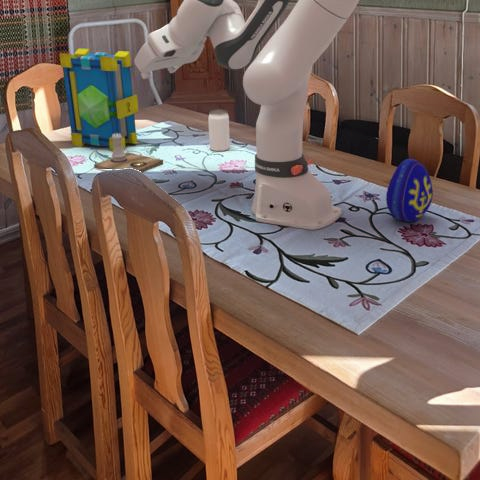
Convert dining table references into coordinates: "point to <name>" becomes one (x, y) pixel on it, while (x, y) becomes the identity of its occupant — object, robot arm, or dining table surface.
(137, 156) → the gauge board
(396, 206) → the ornament
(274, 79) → the robot arm
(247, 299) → the dining table surface
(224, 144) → the can
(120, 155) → the white chess piece
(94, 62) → the decorative book
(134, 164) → the brass bolt head
